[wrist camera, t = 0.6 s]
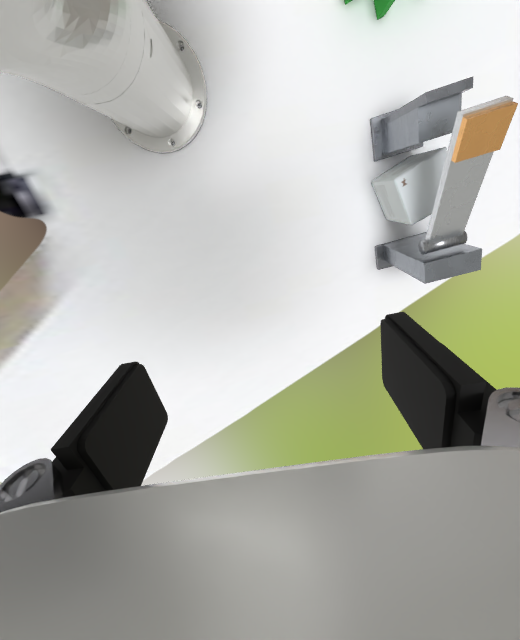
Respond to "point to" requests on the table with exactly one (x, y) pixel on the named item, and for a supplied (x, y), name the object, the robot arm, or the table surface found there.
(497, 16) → the table surface
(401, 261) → the hinge post
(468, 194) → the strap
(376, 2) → the pipe clamp
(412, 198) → the product box
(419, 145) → the lug block
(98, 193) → the table surface
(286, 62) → the table surface
